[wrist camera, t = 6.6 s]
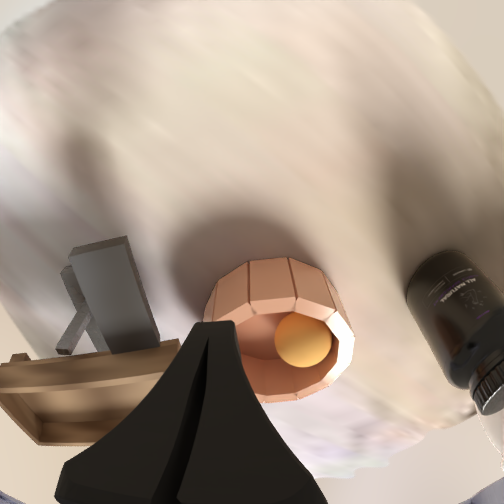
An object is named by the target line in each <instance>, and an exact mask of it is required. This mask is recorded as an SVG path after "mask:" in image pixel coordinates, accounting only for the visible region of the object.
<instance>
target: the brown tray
mask: <svg viewBox="0 0 504 504" xmlns="http://www.w3.org/2000/svg"><path fill="white" fill-rule="evenodd" d="M69 260H70V263H71V265H72V268H73V270H74V273H75V275H76V278H77V280H78V283H79V285H80V288H81V290H82V292H83V295H84V297H85V299H86V302H87V304H88V306H89V308H90V310H91V313H92V315H93V317H94V319H95V321H96V323H97V325H98V327H99V330H100V332H101V334H102V336H103V338H104V340H105V342H106V344H107V346H108V347H109V349H110V350H109V351H102V352H95V353H89V354H81V355H74V356H66V357H58V358H50V359H41V360H31V359H30V358H29V356H28V355H27V353H20V354H13V355H12V357H11V359H10V362H9V363H1V365H0V406H1V408H2V409H3V410H4V411H5V412H6V413H7V414H8V415H9V416H10V418H11V419H12V420H13V421H14V422H15V423H16V424H17V425H18V426H19V427H20V428H21V429H22V430H23V431H24V432H25V433H26V434H27V435H28V436H29V437H30V438H31V439H32V440H33V441H34V442H35V443H36V444H38V445H42V446H92V445H93V444H94V443H96V442H97V441H98V440H100V439H101V438H102V437H103V436H105V435H106V434H107V433H108V432H110V431H111V430H112V429H113V428H115V427H116V426H117V425H118V424H119V423H120V422H121V421H122V420H123V419H124V418H125V417H126V416H127V415H128V414H129V413H130V412H131V411H132V410H133V409H134V408H135V407H136V406H137V405H138V404H139V403H140V402H141V401H142V400H143V399H144V397H145V396H146V395H147V394H148V393H149V392H150V390H151V389H152V388H153V387H154V385H155V384H156V383H157V381H158V380H159V379H160V377H161V376H162V375H163V373H164V372H165V371H166V369H167V368H168V366H169V365H170V363H171V362H172V360H173V359H174V357H175V356H176V354H177V353H178V351H179V349H180V348H181V345H180V342H179V339H178V338H177V339H172V340H167V341H162V342H160V334H159V331H158V329H157V326H156V323H155V321H154V318H153V315H152V312H151V310H150V307H149V304H148V301H147V298H146V295H145V292H144V289H143V286H142V283H141V280H140V277H139V274H138V271H137V268H136V265H135V262H134V258H133V255H132V252H131V248H130V245H129V241H128V238H127V236H122V237H118V238H114V239H109V240H105V241H101V242H97V243H92V244H88V245H84V246H80V247H76V248H73V250H72V252H71V253H70V255H69Z"/></svg>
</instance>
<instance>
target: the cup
mask: <svg viewBox="0 0 504 504" xmlns="http://www.w3.org/2000/svg"><path fill="white" fill-rule="evenodd" d="M293 312H297V313H300V314H303V315H306V316H310V317H313V318H316V319H319V320H322V321H324V322H325V323H326V324H327V325H328V327H329V328H330V329H331V332H332V344H331V348H330V350H329V352H328V354H327V355H326V357H325V358H324V359H323V360H322V361H320V362H319V363H317V364H315V365H313V366H309V367H296V366H293V365H290V364H289V363H287V362H286V361H284V360H283V359H282V358H281V357H280V355H279V354H278V352H277V350H276V347H275V332H276V329H277V327H278V325H279V323H280V322H281V321H282V319H283V318H285V317H286V316H287V315H289V314H290V313H293ZM224 320H232V321H233V322H235V327H236V332H237V337H238V342H239V347H240V352H241V357H242V365H243V368H244V370H245V373H246V375H247V378H248V380H249V382H250V385H251V387H252V389H253V391H254V393H255V395H256V397H257V399H258V401H259V402H260V403H263V402H265V403H273V402H283V401H293V400H297V398H299V399H302V398H304V397H306V396H308V395H311V394H313V393H315V392H317V391H319V390H322V389H324V388H326V387H328V386H329V385H331V384H332V383H333V382H334V381H335V380H336V378H337V377H338V376H339V375H340V374H341V373H342V372H343V371H344V370H345V369H346V368H347V366H348V365H349V364H350V362H351V358H352V351H353V344H354V337H355V336H354V333H353V330H352V328H351V325H350V322H349V320H348V317H347V315H346V312H345V310H344V307H343V305H342V302H341V300H340V297H339V295H338V293H337V291H336V290H335V289H334V287H333V286H332V284H331V283H330V281H329V280H328V278H327V277H326V276H325V274H324V273H323V271H322V272H321V270H320V269H317V268H315V267H312V266H310V265H307V264H305V263H302V262H300V261H297V260H295V259H292V258H290V257H289V259H288V260H287V257H282V258H272V259H263V260H253V261H250V264H249V263H248V262H246V263H244V264H243V265H241V266H240V267H238V268H236V269H235V270H233V271H232V272H230V273H229V274H227V275H226V276H224V277H222V278H221V279H219V280H218V282H217V283H216V285H215V287H214V289H213V291H212V294H211V296H210V298H209V300H208V302H207V305H206V307H205V312H204V318H203V322H211V321H224Z"/></svg>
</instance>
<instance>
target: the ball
mask: <svg viewBox="0 0 504 504" xmlns="http://www.w3.org/2000/svg"><path fill="white" fill-rule="evenodd" d="M331 344H332V332H331V329H330V328H329V327H328V325H327V324H326V323H325V322H324V321H322V320H319V319H316V318H313V317H310V316H306V315H303V314H300V313H297V312H293V313H290V314H289V315H287V316H286V317H285V318H283V319H282V321H281V322H280V323H279V325H278V327H277V329H276V332H275V347H276V350H277V352H278V354H279V355H280V357H281V358H282V359H283V360H284V361H286V362H287V363H289V364H290V365H293V366H296V367H309V366H313V365H315V364H317V363H319V362H320V361H322V360H323V359H324V358H325V357H326V355H327V354H328V352H329V350H330V348H331Z"/></svg>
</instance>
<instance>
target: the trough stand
mask: <svg viewBox="0 0 504 504" xmlns="http://www.w3.org/2000/svg"><path fill="white" fill-rule="evenodd" d="M60 274H61V277H62V279H63V281H64V284H65V286H66V288H67V291H68V293H69V295H70V297H71V300H72V302H73V304H74V306H75V308H76V310H77V313H76V315H75V316H74V318H73V319H72V321H71V323H70V324H69V326H68V328H67V329H66V331H65V333H64V334H63V336H62V338H61V339H60V341H59V343H58V345H57V346H56V348H55V349H56V351H57V352H58V354H60V355H71V354H72V352H73V350H74V349H75V347H76V345H77V343H78V341H79V339H80V337H81V335H82V334H83V332H84V330H85V329H86V331H87V333H88V335H89V336H90V338H91V340H92V342H93V344H94V346H95V348H96V350H97V351H98V352H102V351H109V350H110V349H109V347H108V346H107V344H106V342H105V340H104V338H103V336H102V334H101V332H100V330H99V327H98V325H97V323H96V321H95V319H94V317H93V315H92V313H91V310H90V308H89V306H88V304H87V302H86V299H85V297H84V295H83V292H82V290H81V288H80V285H79V283H78V280H77V278H76V275H75V273H74V270H73V268H72V266H68V267H65V268H64V270H63V271H62V272H61V273H60Z"/></svg>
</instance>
